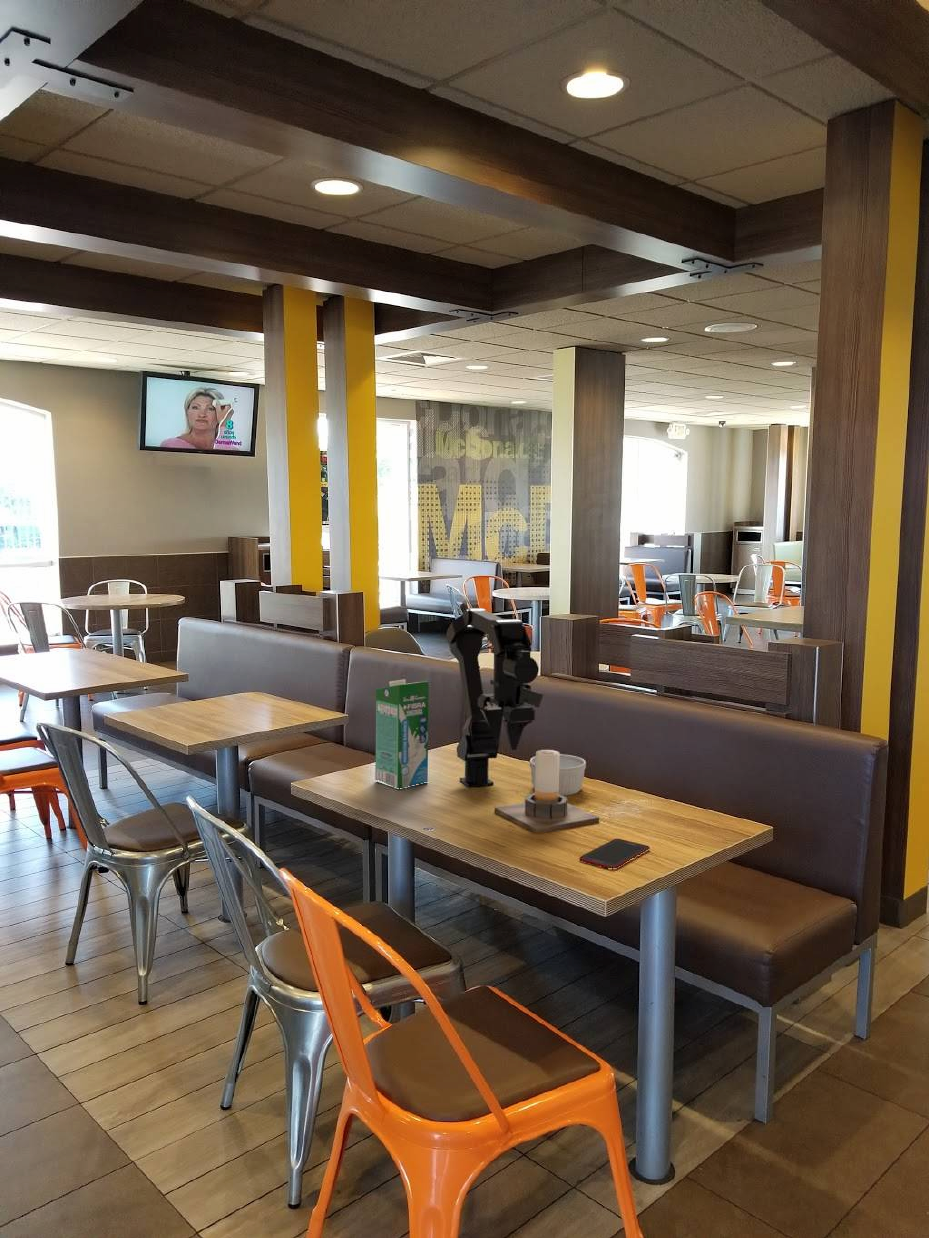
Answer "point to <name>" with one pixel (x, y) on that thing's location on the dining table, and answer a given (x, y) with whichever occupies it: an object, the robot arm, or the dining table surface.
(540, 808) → the roll holder stand
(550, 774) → the paper roll
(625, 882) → the dining table surface
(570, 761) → the ramekin
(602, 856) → the cell phone
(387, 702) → the milk carton
